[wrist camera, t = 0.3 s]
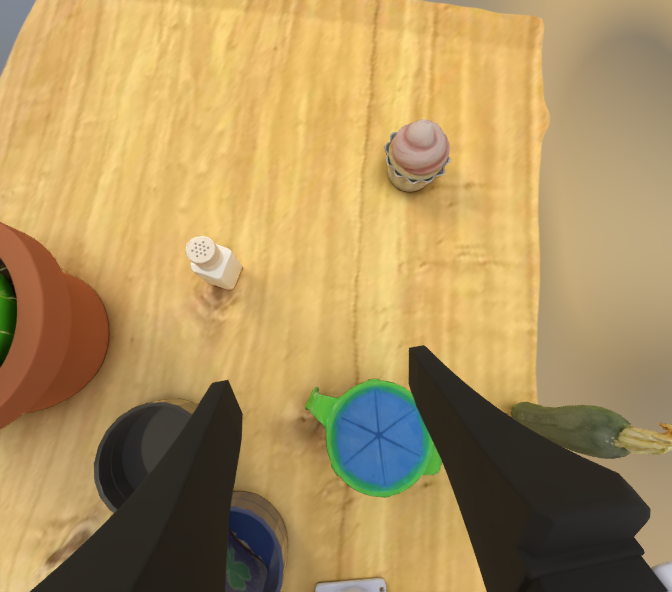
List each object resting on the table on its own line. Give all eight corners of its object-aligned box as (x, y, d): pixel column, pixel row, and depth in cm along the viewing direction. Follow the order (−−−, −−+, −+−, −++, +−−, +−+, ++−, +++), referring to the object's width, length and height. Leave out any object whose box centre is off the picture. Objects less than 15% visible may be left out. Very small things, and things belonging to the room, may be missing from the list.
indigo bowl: (289, 604, 36) (284, 637, 32) (179, 614, 35) (159, 649, 31) (287, 487, 39) (283, 502, 34) (185, 494, 38) (167, 511, 34)
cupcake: (448, 192, 49) (480, 147, 39) (390, 209, 48) (409, 167, 38) (425, 140, 50) (450, 86, 41) (369, 155, 49) (381, 103, 40)
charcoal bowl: (219, 500, 38) (206, 517, 34) (114, 508, 37) (87, 526, 33) (222, 396, 41) (210, 399, 36) (124, 401, 40) (100, 405, 36)
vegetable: (510, 437, 41) (680, 498, 22) (487, 410, 42) (631, 445, 22) (533, 414, 42) (717, 453, 23) (510, 387, 43) (669, 402, 23)
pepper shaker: (233, 292, 44) (210, 271, 34) (206, 283, 44) (175, 260, 35) (244, 265, 45) (224, 238, 35) (217, 256, 45) (190, 227, 35)
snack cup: (438, 416, 41) (475, 431, 31) (399, 495, 39) (426, 537, 29) (335, 352, 43) (339, 347, 33) (291, 424, 40) (281, 442, 30)
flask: (273, 569, 37) (253, 648, 26) (254, 592, 36) (227, 683, 26) (216, 509, 38) (175, 563, 27) (197, 531, 37) (148, 594, 27)
